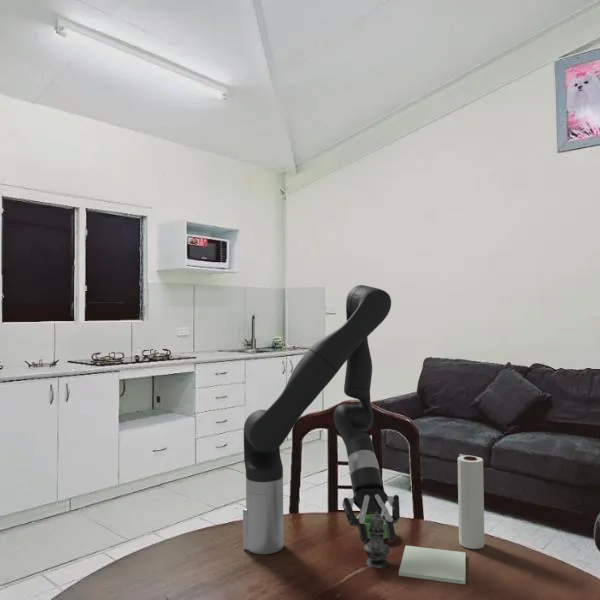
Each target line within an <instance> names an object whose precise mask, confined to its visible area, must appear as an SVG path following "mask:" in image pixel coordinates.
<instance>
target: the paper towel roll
mask: <svg viewBox="0 0 600 600" xmlns="http://www.w3.org/2000/svg"><path fill="white" fill-rule="evenodd" d="M458 455H459V456H458V457H457V485H458V486H457V493H458V494H457V495H458V498H457V500H458V502H457V504H458V506H457V507H458V509H457V510H458V543H459V545H460V546H462V547H464V548H466V549H469V550H470V549H471V550H478V549H479V550H480V549H482V548H484V547H485V501H484V500H485V498H484V493H485V492H484V490H485V489H484V487H485V486H484V484H485V483H484V459H483V458H482V457H480V456H475V455H469V454H468V455H467V454H462V453H459V454H458Z"/></svg>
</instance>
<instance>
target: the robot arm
mask: <svg viewBox="0 0 600 600" xmlns="http://www.w3.org/2000/svg"><path fill="white" fill-rule="evenodd" d="M345 300H346V303H345V304H346V305H345V312H346V313H345V315H346V321H345V322H344V324H342V325H341V326H340V327H339V328H338V329H336V330H333V332H331V333H329V334H327V335H325V336H324V337H322V338H321V339H319V340H318V341H317V342H315V343H313V345H312V346H311V347H310V348H309V349H308V350H307V351H306V352H305V353H304V355H303V356H302V358H301V359H300V360H299V361H298V363H297V364H296V366H295V367H294V369H293V371H292V372H291V375H290V376H289V378H288V381H287V383H286V385H285V387H284V389H283V391H282V392H281V393H280V395H279V396H278V398H277V399H275V401H273V403H272V404H271V405H270V406H269V407H267V409H258V410H255V411H253V412H251V413H250V414H249V415H248V416H247V418H246V419H245V421H244V426H243V459H244V461H243V462H244V470H245V507H244V509H243V510H242V549H243V550H247V551H248V552H250V553H253V554H257V555H269V554H275V553H277V552H279V551H281V550H282V549H283V548H284V465H283V462H282V458H281V449H280V448H281V446H282V445H283V443H284V441H285V440H286V439H287V437H289V434H290V432H291V431H292V429H293V428H294V427H295V425H296V423H297V422H298V421H299V419H300V417H301V416H302V415H303V413H304V412H305V411H306V410H307V409H308V407H310V405H311V404H312V403H313V402H314V401H315V399H317V397H318V396H319V394H320V393H321V392H322V391H323V390H324V389H325V388H326V387H327V386H328V384H329V383H330V382H331V380H333V378H334V377H335V376H336V375H337V373H338V372H339V371H340V369H341V368H342V367H343V365H344V364H345V363H346V368H345V376H344V377H345V378H344V386H343V391H344V392H343V393H344V395H346V396H347V397H349V398H352V399H355V400H358V401H359V404H350V403H349V404H348V403H346V404H344V403H343V404H339V405H337V407H336V408H335V410H334V412H333V422H334V424H335V427H336V430H337V431H338V433H339V436H340V438H341V439H342V441H343V443H344V445H345V449H346V456H347V462H348V471H349V472H348V473H349V477H350V483H351V489H352V492H353V493H352V495H353V496H352V497H350V498H348V497H344V498H343V501H342V509H343V510H344V513H345V516H346V519H347V521H348V524H349V526H351V527H353V526H354V527H356V528H357V529H358V534H359V539H360V541H361V542H363V544H365V545H366V544H368V543H369V540H368V535H367V530H366V525H365V524H364V521H365V516H366V515H369V514H376V513H375V512H376V511H377V512H378V513H377V514H378V515H380V516H382V518H383V521H384V522H385V524H386V531H387V536H388V538H387V540H388V542H389V543H393V541H394V540H395V538H396V531H395V527H394V524H398V521H399V519H400V518H401V517H400V515H401V514H400V497H399V495H398V494H394V496H393V495H392V496H391V495H388V494H387V493H386V491H385V487H384V484H383V479H382V474H381V470H380V466H379V462H378V459H377V457H376V453H375V448H374V444H373V440H372V437H371V436H370V435H369V434H368V433H366V431H369V430H370V429H371V428H372V426H373V424H374V416H373V415H374V414H373V413H374V412H373V408H372V401H371V387H372V379H373V378H372V376H373V360H372V356H371V351H370V347H369V341H368V336H369V335H371V334H372V333H373V332H374V331H375V330H376V329H377V328H378V327H379V326H380V325H381V324H382V322H384V321H385V319H386V318H387V316H388V315H389V313H390V310H391V307H392V298H391V295H390V294H389V293H388V292H387V291H385V290H384V289H381V288H378V287H374V286H369V285H366V284H365V285H363V284H359V285H355V286H354V287H353V288H351V289H350V290H349V292H348V293H347V296H346V299H345ZM387 502H388V503H389V505H390V507H391V509H392V510H391V513H392V515H391V514H390V512H389V509H388V507H387V506H386V503H387ZM353 505H355V506H356V507H357V508H358V509H359V510H360V511H359V514H360V515H359V514H358V515H359V519H357V516H355V512H354V510H353V507H354V506H353Z"/></svg>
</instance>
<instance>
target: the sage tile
mask: <svg viewBox="0 0 600 600" xmlns="http://www.w3.org/2000/svg"><path fill="white" fill-rule="evenodd" d="M398 576H401V577H407V578H414V579H422V580H430V581H437V582H445V583H452V584H459V585H466V552H464V551H456V550H448V549H447V550H446V549H439V548H438V549H437V548H429V547H421V546H414V545H413V546H412V545H405V547H404V550H403V554H402V558H401V561H400V566H399V569H398Z"/></svg>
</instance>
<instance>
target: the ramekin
mask: <svg viewBox="0 0 600 600" xmlns="http://www.w3.org/2000/svg"><path fill="white" fill-rule="evenodd" d="M359 515H360V513H359V514H358V515H357V516H356V518H357V519H359ZM372 515H374V514H369V515H366V516H365V521H364V524H365V525H366V530H367V535H368V539H370V532H369V529H370V518H371V516H372ZM383 530H384V531H385V532H384V533H383V539H385V540H387V539H388V536H387V531H386V524H385V522H384V521H383ZM386 538H387V539H386Z"/></svg>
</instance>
